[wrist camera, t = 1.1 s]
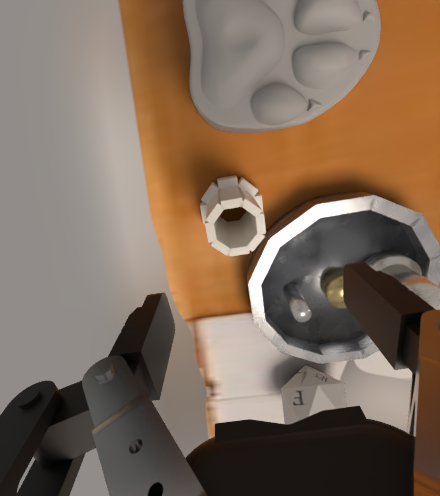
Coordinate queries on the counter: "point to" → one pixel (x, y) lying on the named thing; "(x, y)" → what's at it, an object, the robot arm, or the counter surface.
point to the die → (311, 394)
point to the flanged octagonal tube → (240, 231)
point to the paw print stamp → (276, 58)
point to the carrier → (335, 271)
